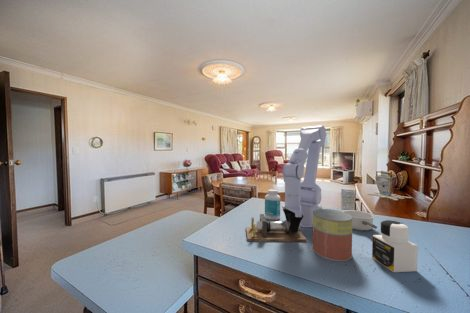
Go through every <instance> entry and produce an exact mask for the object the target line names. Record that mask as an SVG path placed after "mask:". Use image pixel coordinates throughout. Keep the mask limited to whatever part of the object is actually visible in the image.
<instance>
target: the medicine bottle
mask: <svg viewBox="0 0 470 313" xmlns="http://www.w3.org/2000/svg"><path fill="white" fill-rule="evenodd" d="M409 231H410V229H409V227H408V225H406V224H405V223H403V222H400V221H398V220H397V221H396V220H392V219H391V220H386V219H385V220H382V221H380V234H373V235H372V245H371V246H372V248H371V251H372V252H371V255H372V256H371V258H372V259H373V260H374V261H376V262H378V264H380V265H381V266H383V267H385V268H386V269H387V270H389V271H391V273H408V272H409V273H410V272H417V271H418V259H419V258H418V255H419V253H418V251H419V250H418V249H419V247H418V245H417V244H416V243H413V242H411V241H409V234H410V232H409Z"/></svg>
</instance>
